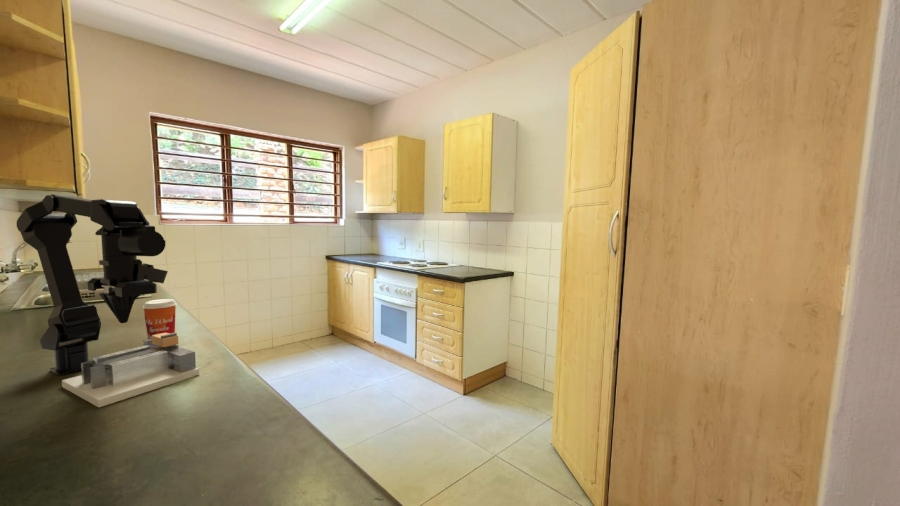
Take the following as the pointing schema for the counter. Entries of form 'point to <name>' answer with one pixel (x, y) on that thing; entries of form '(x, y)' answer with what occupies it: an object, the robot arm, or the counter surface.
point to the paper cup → (160, 316)
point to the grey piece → (136, 365)
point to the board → (124, 387)
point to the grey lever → (136, 355)
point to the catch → (165, 339)
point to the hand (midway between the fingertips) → (123, 322)
